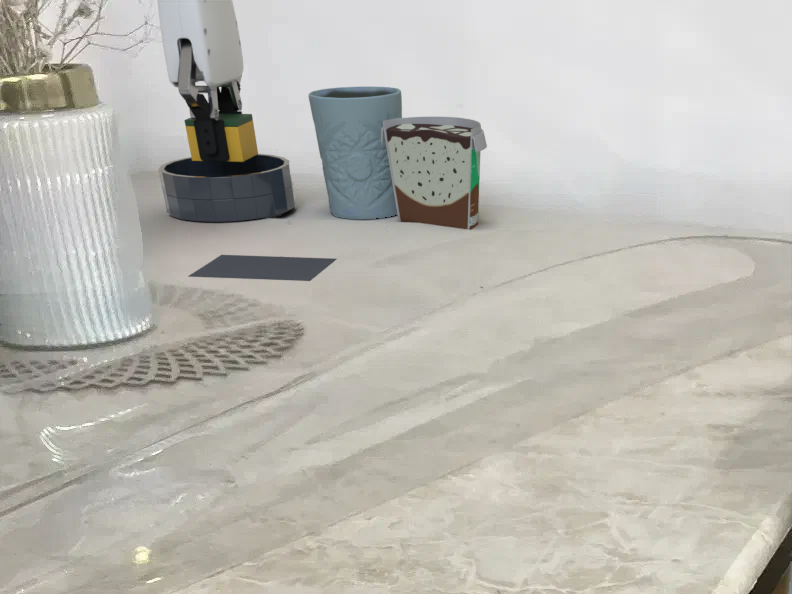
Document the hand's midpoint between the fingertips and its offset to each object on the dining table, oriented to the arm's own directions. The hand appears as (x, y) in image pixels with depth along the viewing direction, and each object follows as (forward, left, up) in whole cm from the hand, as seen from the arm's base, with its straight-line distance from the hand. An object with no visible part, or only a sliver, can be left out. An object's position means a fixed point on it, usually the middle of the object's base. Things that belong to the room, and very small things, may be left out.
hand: (224, 154), depth 126 cm
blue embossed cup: (+15, +3, -6) cm, 16 cm away
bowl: (0, 0, -6) cm, 6 cm away
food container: (+26, -2, -6) cm, 27 cm away
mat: (+13, -24, -6) cm, 28 cm away
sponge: (0, 0, 0) cm, 0 cm away
